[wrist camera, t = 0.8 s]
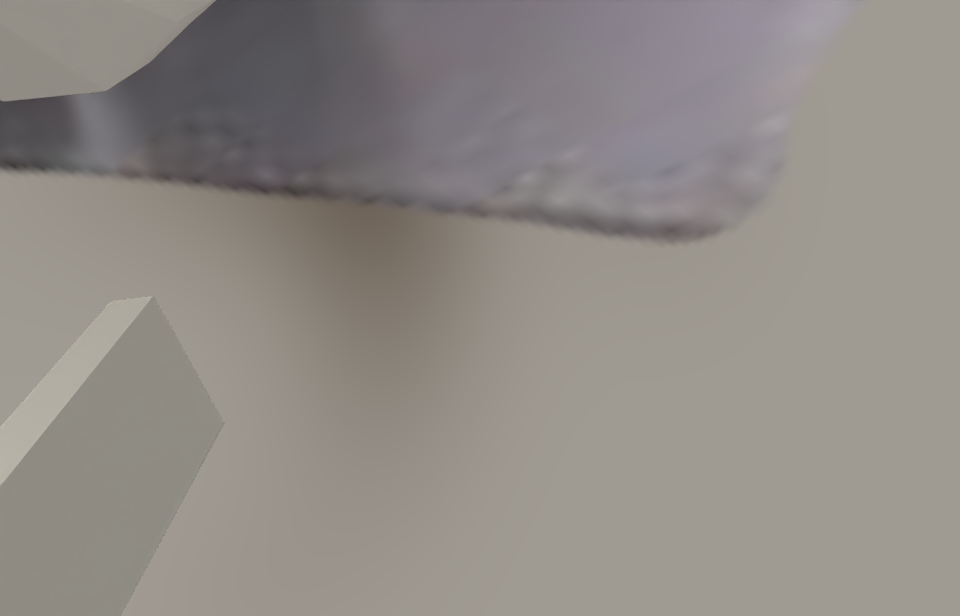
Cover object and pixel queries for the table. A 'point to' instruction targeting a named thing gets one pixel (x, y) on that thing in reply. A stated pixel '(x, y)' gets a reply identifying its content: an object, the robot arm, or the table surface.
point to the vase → (83, 42)
